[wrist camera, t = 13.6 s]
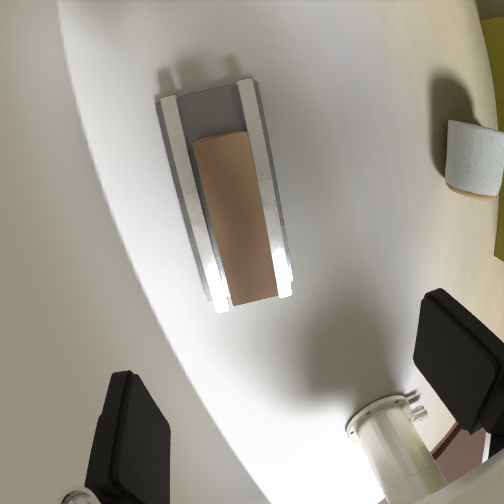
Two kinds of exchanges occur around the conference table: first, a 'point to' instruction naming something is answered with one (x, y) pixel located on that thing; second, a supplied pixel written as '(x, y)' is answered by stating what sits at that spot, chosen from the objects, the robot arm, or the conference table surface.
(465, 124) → the ceramic mug
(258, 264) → the door panel
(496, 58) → the ammo box
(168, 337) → the conference table surface
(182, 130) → the floor track
